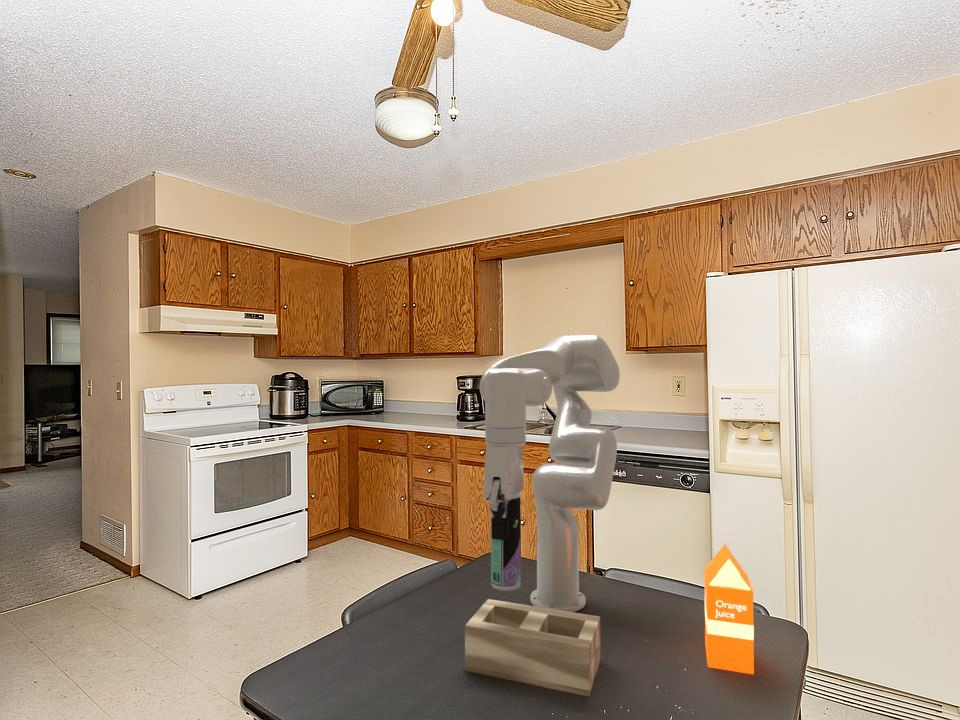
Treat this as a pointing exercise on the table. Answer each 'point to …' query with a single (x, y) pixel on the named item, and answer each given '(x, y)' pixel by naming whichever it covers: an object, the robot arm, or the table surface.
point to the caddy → (534, 646)
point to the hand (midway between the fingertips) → (505, 533)
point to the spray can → (508, 550)
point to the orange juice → (728, 615)
